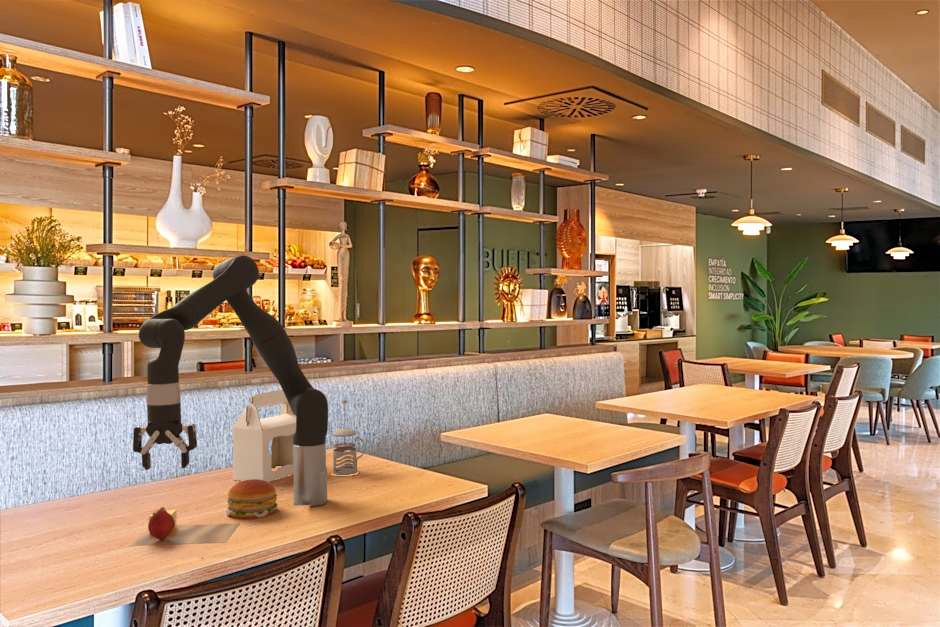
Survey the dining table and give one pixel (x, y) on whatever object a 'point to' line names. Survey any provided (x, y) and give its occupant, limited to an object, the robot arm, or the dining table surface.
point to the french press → (342, 447)
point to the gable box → (264, 440)
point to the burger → (251, 499)
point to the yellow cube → (171, 512)
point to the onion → (161, 524)
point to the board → (191, 535)
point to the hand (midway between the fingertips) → (165, 468)
